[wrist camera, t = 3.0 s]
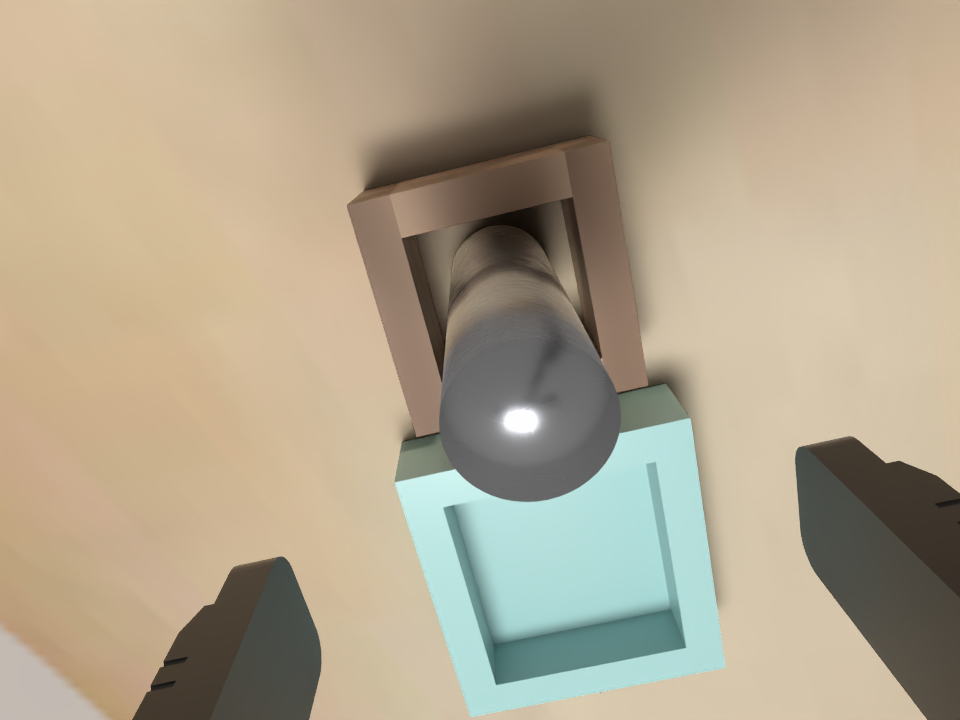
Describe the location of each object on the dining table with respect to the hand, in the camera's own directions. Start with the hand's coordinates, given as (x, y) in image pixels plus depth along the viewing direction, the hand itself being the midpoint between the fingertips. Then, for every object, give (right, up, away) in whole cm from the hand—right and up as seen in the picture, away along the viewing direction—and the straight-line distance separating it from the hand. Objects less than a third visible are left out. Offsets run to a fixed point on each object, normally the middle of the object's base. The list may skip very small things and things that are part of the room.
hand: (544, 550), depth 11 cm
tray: (+3, -5, +22) cm, 23 cm away
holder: (0, +7, +17) cm, 19 cm away
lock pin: (0, +7, +17) cm, 19 cm away
